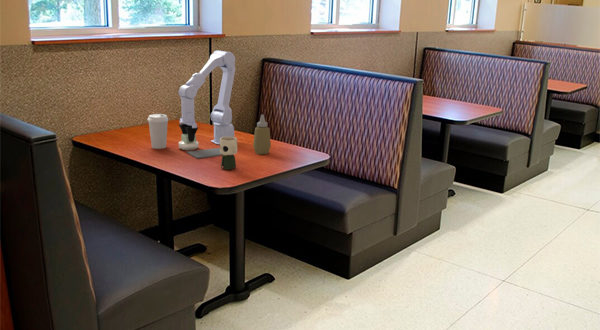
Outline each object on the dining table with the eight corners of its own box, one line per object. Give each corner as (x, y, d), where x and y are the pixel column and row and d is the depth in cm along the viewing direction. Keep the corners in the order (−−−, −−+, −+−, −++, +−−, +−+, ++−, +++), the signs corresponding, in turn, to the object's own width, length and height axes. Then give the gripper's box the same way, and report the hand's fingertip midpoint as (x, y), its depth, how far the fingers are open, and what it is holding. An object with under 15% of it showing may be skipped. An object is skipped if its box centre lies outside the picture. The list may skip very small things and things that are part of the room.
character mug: (213, 167, 251) (213, 137, 247) (227, 164, 256) (227, 134, 252) (229, 173, 244) (229, 142, 240) (243, 170, 248) (243, 139, 245)
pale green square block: (191, 139, 282) (190, 133, 281) (196, 141, 278) (195, 135, 277) (181, 140, 279) (181, 134, 278) (186, 143, 275) (186, 136, 274)
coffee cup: (164, 150, 275) (163, 118, 271) (145, 148, 277) (143, 116, 273) (172, 145, 284) (171, 114, 280) (153, 143, 286) (152, 113, 282)
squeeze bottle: (273, 152, 278) (274, 114, 273) (266, 156, 270) (267, 117, 265) (257, 150, 280) (257, 112, 275) (250, 154, 273) (250, 115, 268)
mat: (218, 149, 280) (218, 147, 280) (229, 154, 272) (229, 153, 271) (186, 153, 272) (186, 151, 271) (197, 158, 263) (197, 157, 263)
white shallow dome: (193, 145, 285) (193, 139, 284) (201, 149, 278) (201, 143, 277) (175, 147, 280) (175, 141, 280) (183, 151, 273) (183, 145, 272)
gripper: (173, 109, 278) (174, 137, 282) (186, 115, 266) (187, 144, 270) (187, 108, 282) (188, 136, 286) (200, 113, 270) (201, 142, 274)
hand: (188, 140), depth 278 cm, fingers closed on pale green square block, 5 cm apart
